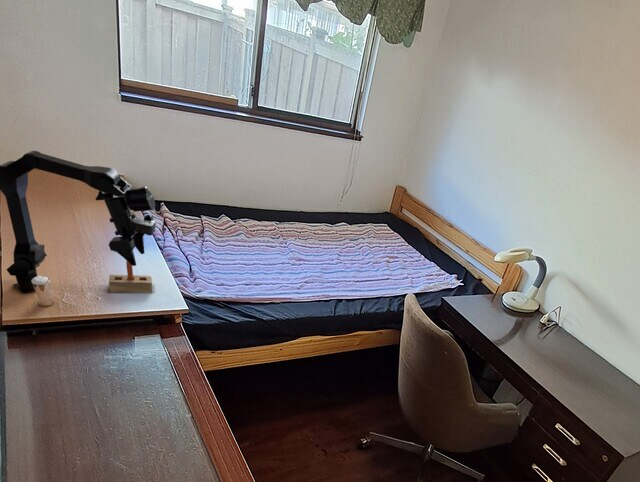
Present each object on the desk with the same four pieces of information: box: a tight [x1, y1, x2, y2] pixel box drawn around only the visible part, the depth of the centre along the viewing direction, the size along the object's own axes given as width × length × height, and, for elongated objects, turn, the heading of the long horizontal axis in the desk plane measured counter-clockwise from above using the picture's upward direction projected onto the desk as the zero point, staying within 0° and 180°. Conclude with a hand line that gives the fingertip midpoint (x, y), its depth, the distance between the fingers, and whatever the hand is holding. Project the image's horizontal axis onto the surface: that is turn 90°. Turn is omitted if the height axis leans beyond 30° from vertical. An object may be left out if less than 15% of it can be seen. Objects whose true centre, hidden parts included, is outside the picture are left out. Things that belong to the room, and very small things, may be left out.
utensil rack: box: [108, 274, 153, 294], centre depth 159 cm, size 5×13×4 cm, turn 113°
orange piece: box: [125, 260, 134, 280], centre depth 156 cm, size 2×4×14 cm, turn 23°
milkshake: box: [31, 275, 53, 307], centre depth 140 cm, size 4×5×10 cm
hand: (138, 259), depth 147 cm, fingers open, 9 cm apart
